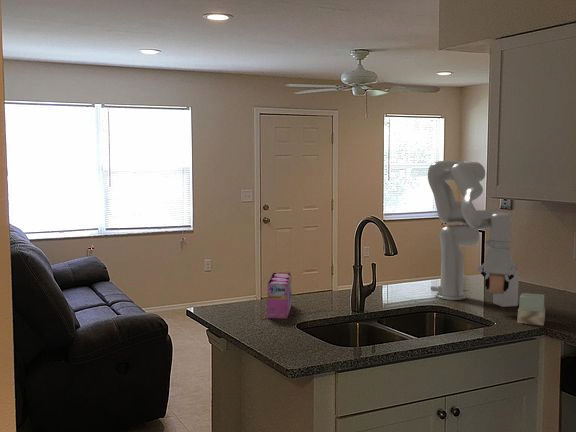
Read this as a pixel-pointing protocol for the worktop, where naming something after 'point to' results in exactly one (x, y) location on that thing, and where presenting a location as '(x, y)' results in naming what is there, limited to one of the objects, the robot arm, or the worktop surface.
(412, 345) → the worktop surface
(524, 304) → the sage block
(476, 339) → the worktop surface
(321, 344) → the worktop surface
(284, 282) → the gum box
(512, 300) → the milk carton
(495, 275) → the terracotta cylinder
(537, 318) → the birch block
